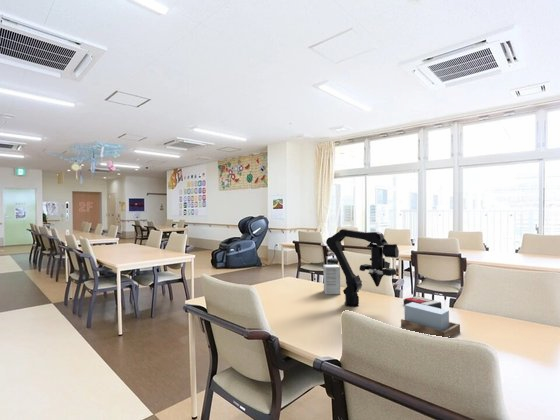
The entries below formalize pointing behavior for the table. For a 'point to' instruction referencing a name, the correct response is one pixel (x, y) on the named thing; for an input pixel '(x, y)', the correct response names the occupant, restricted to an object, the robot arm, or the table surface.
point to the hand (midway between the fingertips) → (377, 286)
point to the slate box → (427, 316)
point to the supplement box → (331, 279)
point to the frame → (448, 332)
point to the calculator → (423, 301)
